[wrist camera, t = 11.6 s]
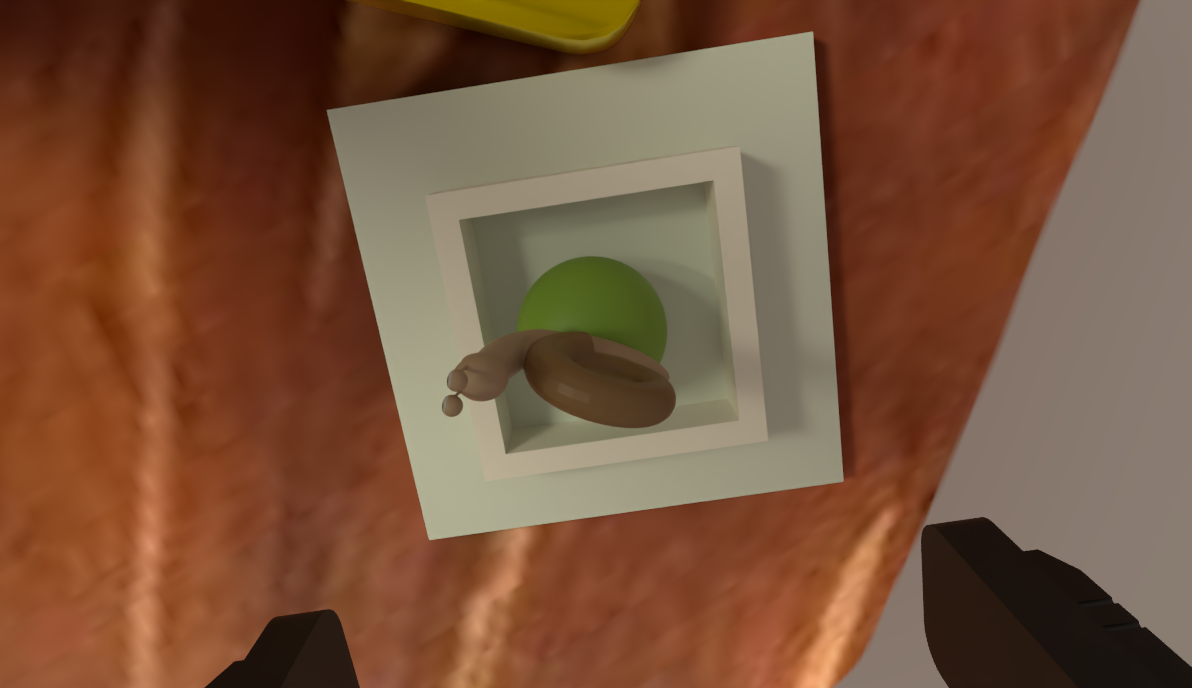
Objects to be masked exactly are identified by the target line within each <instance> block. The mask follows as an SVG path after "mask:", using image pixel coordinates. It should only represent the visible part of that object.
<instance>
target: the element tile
mask: <svg viewBox="0 0 1192 688" xmlns="http://www.w3.org/2000/svg"><path fill="white" fill-rule="evenodd" d="M345 1H349V2H354V3H358V4H362V5H366V6H370V7H375V8H379V9H383V10H387V11H391V12H396V13H400V14H404V15H408V16H412V17H417V18H421V19H425V20H429V21H433V22H438V23H442V24H446V25H450V26H454V27H459V28H463V29H467V30H471V31H475V32H480V33H484V34H488V35H492V36H496V37H500V38H505V39H509V40H513V41H517V42H521V43H526V44H530V45H534V46H538V47H542V48H547V49H551V50H555V51H559V52H563V53H569V54H581V55H586V54H591V53H596V52H601V51H605V50H606V49H608V48H609V47H611V46H612V45H614V44H615V43H617V42H618V41H620V40H621V38H622V37H623V35H624V34H625V33H626V31H627V30H628V28H629V27H630V25H631V24H632V22H633V20H634V18H635V16H636V13H637V11H638V8H639V6H640V3H641V0H345Z"/></svg>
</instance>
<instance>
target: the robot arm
mask: <svg viewBox="0 0 1192 688" xmlns="http://www.w3.org/2000/svg"><path fill="white" fill-rule="evenodd" d="M921 552H922V575H923V576H922V577H923V603H924V625H925V633H926V638H927V642H928V646H929V649H930V652H931V655H932V658H933V660H934V663H935V665H936V667H937V669H938V671H939V673H940V675H941V676H942V678H943V679H944V681H945V682H946V684H947V686H948V687H949V688H1192V667H1191V666H1189V665H1188V664H1187V663H1186V662H1185V661H1184V660H1183V659H1181V658H1180V657H1179V656H1178V655H1177V654H1176V653H1174V652H1173V651H1172V650H1171V649H1170V648H1169V647H1168V646H1167V645H1166V644H1164V643H1163V642H1162V641H1161V640H1160V639H1159V638H1158V637H1156V636H1155V635H1154V634H1153V633H1152V632H1151V631H1149V630H1148V629H1147V628H1146V627H1144V628H1141V626H1140V625H1139V621H1138V620H1137V619H1136V618H1135V617H1134V616H1132V615H1131V614H1130V613H1129V612H1128V611H1127V610H1125V609H1124V608H1123V607H1122V606H1121V605H1120V604H1119V603H1116V604H1114V603H1113V601H1112V597H1111V596H1109V595H1108V594H1107V593H1106V592H1105V591H1104V590H1103V589H1101V588H1100V587H1099V586H1098V585H1097V584H1096V583H1095V582H1094V581H1092V580H1091V579H1090V578H1089V577H1088V576H1087V575H1086V574H1084V573H1083V572H1082V571H1081V570H1079V569H1077V568H1075V567H1073V566H1071V565H1069V564H1067V563H1065V562H1063V561H1061V560H1059V559H1056V558H1055V557H1053V556H1050V555H1048V554H1046V553H1044V552H1042V551H1040V550H1030V551H1022V550H1021V549H1020V548H1019V547H1018V546H1017V545H1016V544H1015V543H1014V542H1013V541H1012V540H1011V539H1010V538H1009V537H1007V536H1006V535H1005V534H1004V533H1003V532H1002V531H1001V530H1000V529H999V528H998V527H997V526H996V525H995V524H994V523H993V522H992V521H990V520H989V519H987V518H984V517H980V518H973V519H967V520H960V521H953V522H945V523H939V524H931V525H926V526H925V527H924V529H923V531H922V537H921ZM205 688H360V687H359V683H358V680H357V676H356V673H355V670H354V666H353V663H352V659H351V656H350V652H349V649H348V646H347V642H346V639H345V635H344V632H343V628H342V625H341V622H340V620H339V617H338V616H337V614H336V613H335V612H334V611H333V610H330V609H328V610H320V611H313V612H307V613H300V614H293V615H286V616H279V617H275V618H273V619H272V620H271V621H270V622H269V623H268V624H267V626H266V627H265V629H264V630H263V632H262V634H261V635H260V637H259V638H258V640H257V641H256V643H255V644H254V646H253V647H252V649H251V650H250V652H249V653H248V655H247V656H246V658H245V659H244V660H242V661H235V662H233V663H232V664H231V665H230V666H229V667H228V668H227V669H225V670H224V671H223V672H222V673H221V674H220V675H219V676H217V677H216V678H215V679H214V680H213V681H212V682H211V683H209V684H208V685H207V686H206V687H205Z"/></svg>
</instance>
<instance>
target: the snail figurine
mask: <svg viewBox="0 0 1192 688" xmlns="http://www.w3.org/2000/svg"><path fill="white" fill-rule="evenodd" d="M666 341H667V322H666V316H665V312H664V308H663V305H662V303H661V300H660V298H659V296H658V295H657V293H656V291H655V290H654V288H653V287H652V285H651V284H650V283H649V282H648V281H647V280H646V279H645V278H644V277H643V276H642V275H641V274H640V273H639V272H637V271H636V270H635V269H633V268H632V267H630V266H628V265H626V264H624V263H622V262H620V261H617V260H614V259H610V258H606V257H599V256H585V257H578V258H574V259H570V260H567V261H564V262H562V263H560V264H558V265H556V266H554V267H552V268H551V269H549V270H548V271H547V272H545V273H544V274H543V275H542V276H541V277H540V278H539V279H538V280H537V281H536V282H535V283H534V284H533V285H532V287H531V288H530V290H529V291H528V293H527V294H526V296H525V298H524V300H523V303H522V305H521V308H520V311H519V315H518V321H517V332H515V333H511V334H508V335H505V336H502V337H500V338H498V339H496V340H494V341H492V342H491V343H489V344H487V345H486V346H485V347H483V348H482V349H481V350H480V351H479V352H478V353H473V354H469V355H467V356H465V357H464V358H463V359H462V361H461V362H460V363H459V364H458V365H457V366H456V368H455V369H454V370H452V371H451V372H450V373H449V375H448V377H447V386H448V388H449V389H450V390H451V391H454V392H457V393H456V394H455V395H448V396H446V397H445V398H444V400H443V403H442V411H443V413H444V414H445V415H446V416H449V417H455V416H457V415H459V414H460V413H461V411H462V409H463V402H462V400H461V399H460V398H459V397H458V395H459V394H462V395H463V396H465V397H466V398H468V399H470V400H473V401H479V402H483V401H489V400H492V399H495V398H497V397H498V396H499V395H501V394H502V393H503V391H504V390H505V389H506V387H507V384H508V379H510V378H511V377H513V376H514V375H516V374H517V373H518V372H520V371H521V370H523V369H524V372H525V376H526V379H527V381H528V383H529V385H530V386H531V388H532V389H533V390H534V391H535V392H536V393H537V394H538V395H539V396H540V397H541V398H542V399H544V400H545V401H546V402H548V403H549V404H551V405H552V406H554V407H556V408H558V409H559V410H561V411H563V412H566V413H568V414H570V415H573V416H575V417H578V418H581V419H584V420H587V421H591V422H594V423H598V424H603V425H608V426H613V427H622V428H644V427H650V426H653V425H657V424H659V423H661V422H663V421H664V420H666V419H667V418H668V417H669V416H670V415H671V414H672V412H673V410H674V408H675V405H676V394H675V391H674V388H673V386H672V385H671V383H670V382H669V381H668V380H669V378H670V375H669V373H668V371H667V370H666V369H665V368H664V367H663V366H662V365H660V362H661V360H662V357H663V355H664V351H665V347H666Z"/></svg>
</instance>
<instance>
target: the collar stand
mask: <svg viewBox="0 0 1192 688" xmlns="http://www.w3.org/2000/svg"><path fill="white" fill-rule="evenodd" d="M327 114H328V118H329V123H330V127H331V131H332V135H333V139H334V144H335V148H336V152H337V156H338V160H339V165H340V169H341V173H342V177H343V181H344V186H345V190H346V194H347V198H348V202H349V207H350V211H351V215H352V219H353V223H354V227H355V232H356V236H357V240H358V244H359V248H360V253H361V257H362V261H363V265H364V269H365V274H366V278H367V282H368V286H369V290H370V295H371V299H372V303H373V307H374V311H375V315H376V320H377V324H378V328H379V332H380V336H381V341H382V345H383V349H384V353H385V357H386V362H387V366H388V370H389V374H390V378H391V383H392V387H393V391H394V395H395V399H396V404H397V408H398V412H399V416H400V420H401V424H402V429H403V433H404V437H405V441H406V445H407V450H408V454H409V458H410V462H411V466H412V471H413V475H414V479H415V483H416V487H417V492H418V496H419V500H420V504H421V508H422V512H423V517H424V521H425V525H426V529H427V533H428V538H429V540H433V539H440V538H447V537H454V536H461V535H468V534H476V533H483V532H490V531H497V530H504V529H511V528H518V527H525V526H532V525H539V524H547V523H554V522H561V521H568V520H575V519H582V518H589V517H596V516H603V515H610V514H618V513H625V512H632V511H639V510H646V509H653V508H660V507H667V506H674V505H681V504H689V503H696V502H703V501H710V500H717V499H724V498H731V497H738V496H745V495H752V494H760V493H767V492H774V491H781V490H788V489H795V488H802V487H809V486H816V485H823V484H830V483H838V482H844V480H843V465H842V450H841V436H840V421H839V406H838V392H837V377H836V362H835V348H834V333H833V318H832V304H831V289H830V274H829V259H828V245H827V230H826V215H825V201H824V186H823V171H822V157H821V142H820V127H819V113H818V98H817V83H816V69H815V54H814V39H813V32H807V33H801V34H795V35H789V36H782V37H776V38H770V39H764V40H758V41H751V42H745V43H739V44H733V45H727V46H720V47H714V48H708V49H702V50H696V51H689V52H683V53H677V54H671V55H665V56H658V57H652V58H646V59H640V60H634V61H628V62H621V63H615V64H609V65H603V66H597V67H590V68H584V69H578V70H572V71H566V72H559V73H553V74H547V75H541V76H535V77H528V78H522V79H516V80H510V81H504V82H497V83H491V84H485V85H479V86H473V87H466V88H460V89H454V90H448V91H442V92H435V93H429V94H423V95H417V96H411V97H404V98H398V99H392V100H386V101H380V102H373V103H367V104H361V105H355V106H349V107H342V108H336V109H330V110H327ZM585 256H599V257H606V258H610V259H614V260H617V261H620V262H622V263H624V264H626V265H628V266H630V267H632V268H633V269H635V270H636V271H637V272H639V273H640V274H641V275H642V276H643V277H644V278H645V279H646V280H647V281H648V282H649V283H650V284H651V285H652V287H653V288H654V290H655V291H656V293H657V295H658V296H659V298H660V300H661V303H662V305H663V308H664V312H665V316H666V322H667V341H666V347H665V351H664V355H663V357H662V360H661V362H660V365H662V366H663V367H664V368H665V369H666V370H667V371H668V373H669V375H670V378H669V380H668V381H669V382H670V383H671V385H672V386H673V388H674V391H675V394H676V405H675V408H674V410H673V412H672V414H671V415H670V416H669V417H668V418H667V419H666V420H664V421H663V422H661V423H659V424H657V425H653V426H650V427H644V428H622V427H613V426H608V425H603V424H598V423H594V422H591V421H587V420H584V419H581V418H578V417H575V416H573V415H570V414H568V413H566V412H563V411H561V410H559V409H558V408H556V407H554V406H552V405H551V404H549V403H548V402H546V401H545V400H544V399H542V398H541V397H540V396H539V395H538V394H537V393H536V392H535V391H534V390H533V389H532V388H531V386H530V385H529V383H528V381H527V379H526V376H525V372H524V369H523V370H521V371H520V372H518V373H517V374H516V375H514V376H513V377H511V378H510V379H508V384H507V387H506V389H505V390H504V391H503V393H502V394H501V395H499V396H498V397H497V398H495V399H492V400H489V401H483V402H479V401H473V400H470V399H468V398H466V397H465V396H463V395H462V394H459V395H458V397H459V398H460V399H461V400H462V402H463V409H462V411H461V413H460V414H459V415H457V416H455V417H449V416H446V415H445V414H444V413H443V411H442V403H443V400H444V398H445V397H446V396H448V395H455V394H456V393H457V392H454V391H451V390H450V389H449V388H448V386H447V377H448V375H449V373H450V372H451V371H452V370H454V369H455V368H456V366H457V365H458V364H459V363H460V362H461V361H462V359H463V358H464V357H465V356H467V355H469V354H473V353H478V352H479V351H480V350H481V349H482V348H483V347H485V346H486V345H487V344H489V343H491V342H492V341H494V340H496V339H498V338H500V337H502V336H505V335H508V334H511V333H515V332H517V321H518V315H519V311H520V308H521V305H522V303H523V300H524V298H525V296H526V294H527V293H528V291H529V290H530V288H531V287H532V285H533V284H534V283H535V282H536V281H537V280H538V279H539V278H540V277H541V276H542V275H543V274H544V273H545V272H547V271H548V270H549V269H551V268H552V267H554V266H556V265H558V264H560V263H562V262H564V261H567V260H570V259H574V258H578V257H585Z"/></svg>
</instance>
